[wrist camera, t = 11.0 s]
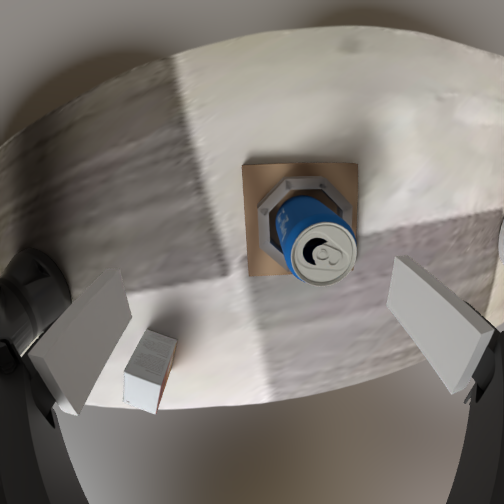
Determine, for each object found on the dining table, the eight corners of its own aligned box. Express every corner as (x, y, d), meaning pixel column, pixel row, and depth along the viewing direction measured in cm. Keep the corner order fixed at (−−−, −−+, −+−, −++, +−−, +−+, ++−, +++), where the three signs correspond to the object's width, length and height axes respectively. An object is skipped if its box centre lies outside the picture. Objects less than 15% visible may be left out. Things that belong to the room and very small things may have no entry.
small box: (170, 370, 45) (156, 415, 35) (141, 360, 44) (122, 403, 34) (178, 339, 42) (162, 386, 32) (146, 327, 41) (123, 371, 31)
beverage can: (287, 185, 32) (306, 203, 21) (335, 207, 33) (374, 235, 22) (266, 234, 34) (272, 276, 23) (313, 253, 35) (339, 300, 24)
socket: (249, 271, 38) (248, 285, 34) (242, 165, 33) (240, 166, 29) (349, 265, 37) (359, 278, 33) (353, 163, 32) (365, 165, 29)
